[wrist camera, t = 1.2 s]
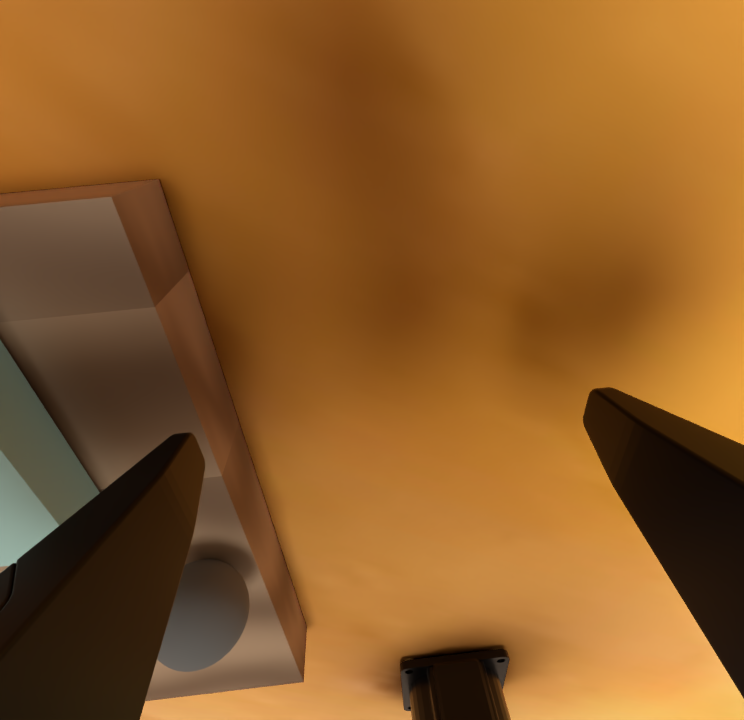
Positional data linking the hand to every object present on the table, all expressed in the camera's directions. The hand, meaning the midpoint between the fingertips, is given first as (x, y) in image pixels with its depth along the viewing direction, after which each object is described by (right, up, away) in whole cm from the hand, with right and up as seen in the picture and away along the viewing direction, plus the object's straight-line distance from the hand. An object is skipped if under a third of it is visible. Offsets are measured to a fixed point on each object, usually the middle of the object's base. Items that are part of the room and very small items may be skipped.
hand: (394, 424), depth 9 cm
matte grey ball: (-6, -6, +4) cm, 9 cm away
